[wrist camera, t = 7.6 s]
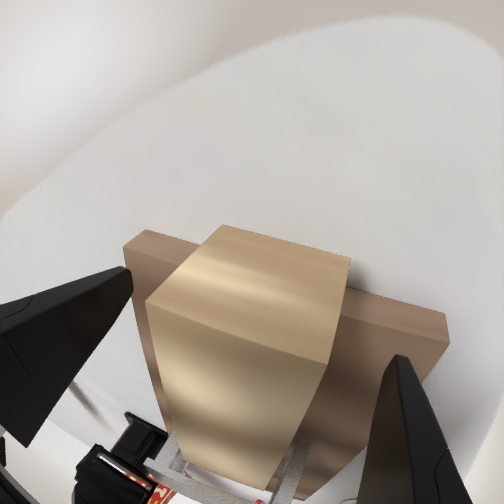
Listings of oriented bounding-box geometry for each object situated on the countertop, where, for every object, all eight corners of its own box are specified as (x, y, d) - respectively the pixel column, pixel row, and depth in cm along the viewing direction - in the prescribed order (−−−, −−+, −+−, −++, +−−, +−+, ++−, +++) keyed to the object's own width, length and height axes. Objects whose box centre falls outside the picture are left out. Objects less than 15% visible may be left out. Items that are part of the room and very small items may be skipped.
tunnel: (302, 465, 21) (278, 529, 16) (190, 425, 23) (156, 481, 18) (318, 444, 18) (291, 522, 13) (186, 398, 21) (143, 463, 16)
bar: (289, 425, 18) (263, 490, 14) (218, 400, 19) (183, 460, 15) (350, 258, 11) (327, 364, 7) (222, 224, 12) (145, 301, 8)
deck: (308, 487, 28) (303, 501, 27) (183, 442, 32) (175, 454, 31) (445, 313, 13) (449, 343, 11) (145, 229, 17) (122, 246, 15)
